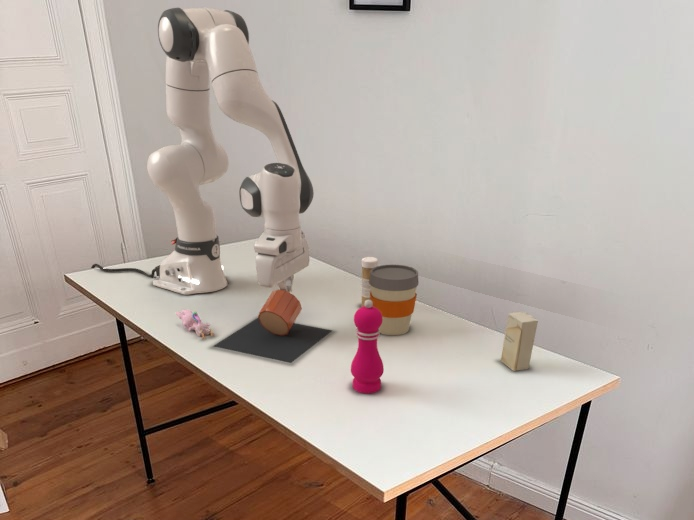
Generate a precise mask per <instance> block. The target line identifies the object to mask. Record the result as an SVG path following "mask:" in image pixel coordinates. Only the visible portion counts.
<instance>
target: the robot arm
mask: <svg viewBox="0 0 694 520" xmlns="http://www.w3.org/2000/svg"><path fill="white" fill-rule="evenodd" d="M157 36H158V41H159V45H160V47H161V49H162V50H163V52H164V54H165V55H166V58H165V105H166V106H165V107H166V115H167V119H168V120H169V121H170V122H171V123H172V125H175V127H177V128H178V130H179V134H180V137H181V142H180V143H178V144H171V145H166V146H164V147H161V148H159V149H156V150H155V151H153V152H152V153H151V154H149V156H148V159H147V163H146V166H147V168H146V169H147V174H148V177H149V180H150V181H151V183H152V184H153V185H154V186H155V187H156V188H157V189H159V190H160V191H162V192H163V194H164V195H165V196H166V197H167V199H168V201H169V203H170V205H171V207H172V210H173V214H174V219H175V226H176V232H177V237H176V238H175V239H172V240H170V242H171V245H175V246H174V250H173V251H172V252H171V253H170V254H169V255H167V256H166V257H165V258H164V259H163V260H162V261H161V262H160V264H159V265H157V266H155V267H154V268H153V269H151V274H148V273H147V272H145V271H143V270H142V269H140V268H135V267H127V268H126V267H121V268H106V269H103V268H104V267H103V266H102V265H100V264H98V263H94V264H92V265H91V267H90V269H95V268H98V269H100V270H101V271H104V272H108V273H109V272H110V273H117V272H120V273H121V272H136V273H137V272H138V273H140V274H141V275H143V276H145V277H148V278H153V277H155V274H156V277H155V278H154V279H153V281H152V285H153V286H155V287H158V288H162V289H164V290H168V291H172V292H174V293H177V294H181V295H185V296H188V295H189V296H190V295H194V294H206V293H212V292H216V291H220V290H223V289H224V288H226V287H227V286H228V281H227V278H226V275H225V272H224V266H223V264H222V261H221V246H220V238H219V235H218V233H217V232H218V231H217V223H216V222H217V221H216V212H215V209H214V207H213V205H211V204H210V203H209V202H207V201H205V200H204V199H203V197H202V195H201V193H200V192H201V191H200V189H199V188H200V186H202V185H206V184H210V183H214V182H215V181H217V180H219V179H220V178H222V177H224V176H225V175H226V174H227V172H228V170H229V156H228V153H227V151H226V149H225V148H224V146H223V145H222V144H221V143H220V142H219V141H218V139H217V137H216V135H215V133H214V129H213V126H212V119H211V87H212V90H213V96H214V98H215V101H216V103H217V105H218V108H219V109H220V111H221V112H222V113H223V114H224V115H225V116H226V117H228V118H229V119H230V120H232V121H234V122H236V123H239V124H242V125H245V126H248V127H251V128H253V129H255V130H256V131H259V132H261V134H263V135H264V136H265V137H266V138H267V139H268V140H269V142H270V144H271V147H272V150H273V152H274V155H275V157H276V160H277V162H271V163H268V164H266V165H264V166H263V167H262V169H261V171H259V172H257V173H256V174H251V175H249V176H245V178H244V179H243V180H242V182H241V184H240V186H239V202H240V206H241V209H243V210H244V212H245V213H247V215H249V216H251V217H253V218H263V220H264V222H263V232H262V233H261V235H260V236H259V237H258V239H257V240H256V241H255V242H254V244H253V251H254V253H257V254H256V256H255V271H256V272H255V273H256V280H257V283H258V284H259V286H261V287H264V288H273V287H275V286H277V287H278V288H279V289H280V290H285V291H288V292H289V293H291V294H292V292H293V289H292V287H293V282H294V279H295V275H296V274H297V273H299V272H300V271H302V270H304V269H306V268H307V267H309V264H310V261H311V260H310V249H309V248H310V247H309V242H308V240H307V238H306V234H305V233H304V231H303V230H302V222H301V219H300V214H304V213H305V212H307V210H308V209H309V207H310V206H311V204H312V202H313V199H314V193H315V192H314V187H313V184H312V181H311V179H310V177H309V175H308V173H307V172H306V170H305V168H304V166H303V163H302V161H301V158H300V156H299V153H298V150H297V147H296V145H295V142H294V140H293V136H292V134H291V131H290V129H289V126H288V124H287V121H286V119H285V117H284V114H283V112H282V109H281V108H280V106H279V104H278V103H277V102H276V101H274V100H273V99H271V97H270V96H269V95H268V94H267V92H266V90H265V89H264V86H263V85H262V83H261V80H260V78H259V74H258V70H257V66H256V62H255V59H254V56H253V53H252V50H251V48H250V32H249V28H248V26H247V23H246V21H245V18H244V17H242V16H241V15H240V14H239V13H237V12H234V11H232V10H228V9H225V10H221V9H217V8H212V7H205V6H203V7H202V6H201V7H189V8H181V7H172V8H171V7H170V8H168V9H165V10H164V11H163V12H162V13H161V15H160V17H159V19H158V23H157Z"/></svg>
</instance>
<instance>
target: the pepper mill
mask: <svg viewBox="0 0 694 520" xmlns="http://www.w3.org/2000/svg"><path fill="white" fill-rule="evenodd" d="M364 305H365V306H363V307H362V306H361V307H359V308H358V309H357V310H356V311H355V313H354V315H353V323H354V325H355V327H356V330H355V332H356V333H355V336H356V338H357V339H358V344H357V350H356V353H355V355H354V357H353V359H352V361H351V365H350V374H351V375H352V377H353V378H352V389H353V390H354V391H355V392H356V393H359V394H374V393H377V392H379V391H380V390H381V388H382V379H381V377H382V376H383V375H384V372H385V371H384V362H383V359H382V357H381V355H380V352H379V350H378V339H379V338H380V334H381V333H379V332H380V330H379V327H380V326H381V324H382V314H381V312H380V311H379V310H378V309H377V308H375V307H373V302H372V301H371V300H366V301H365V303H364Z"/></svg>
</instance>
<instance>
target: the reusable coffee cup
mask: <svg viewBox="0 0 694 520" xmlns="http://www.w3.org/2000/svg"><path fill="white" fill-rule="evenodd" d="M369 284H370V285H371V292H370V300H371V301H372V302H373V307H375V308H377V309H378V310H379V311H380V312H381V314H382V324H381V326H380V327H379V330H380V332H379V334H382V335H386V336H400V335H404V334H406V333H407V332H409V330H410V325H411V321H412V319H411V318H412V315H413V313H414V312H415V308H416V307H415V306H416V303H417V296H418V294H417V288H418V286H419V271H418V270H417V269H416V268H414V267H412V266H409V265H403V264H382V265H378V266H377V267H374V268H373V269H371V271H370V278H369Z"/></svg>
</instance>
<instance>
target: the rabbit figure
mask: <svg viewBox="0 0 694 520" xmlns="http://www.w3.org/2000/svg"><path fill="white" fill-rule="evenodd" d="M175 314H176V316H177V317H178V318H179V320H181V321H182V327H184V328H185V329H187V332H190V331H195V333H196V336H197V337H199V338H201V339H202V340H203V339H206V337H205V336H209V335H210V337H215V336H214V333H213V330H212V329H211V328H209V326H211V324H210V323H203V322H202V319H201V318H200V316H199V314H198V313H197V311H192V310H190V309H183V310H181V311H176V312H175Z"/></svg>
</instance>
